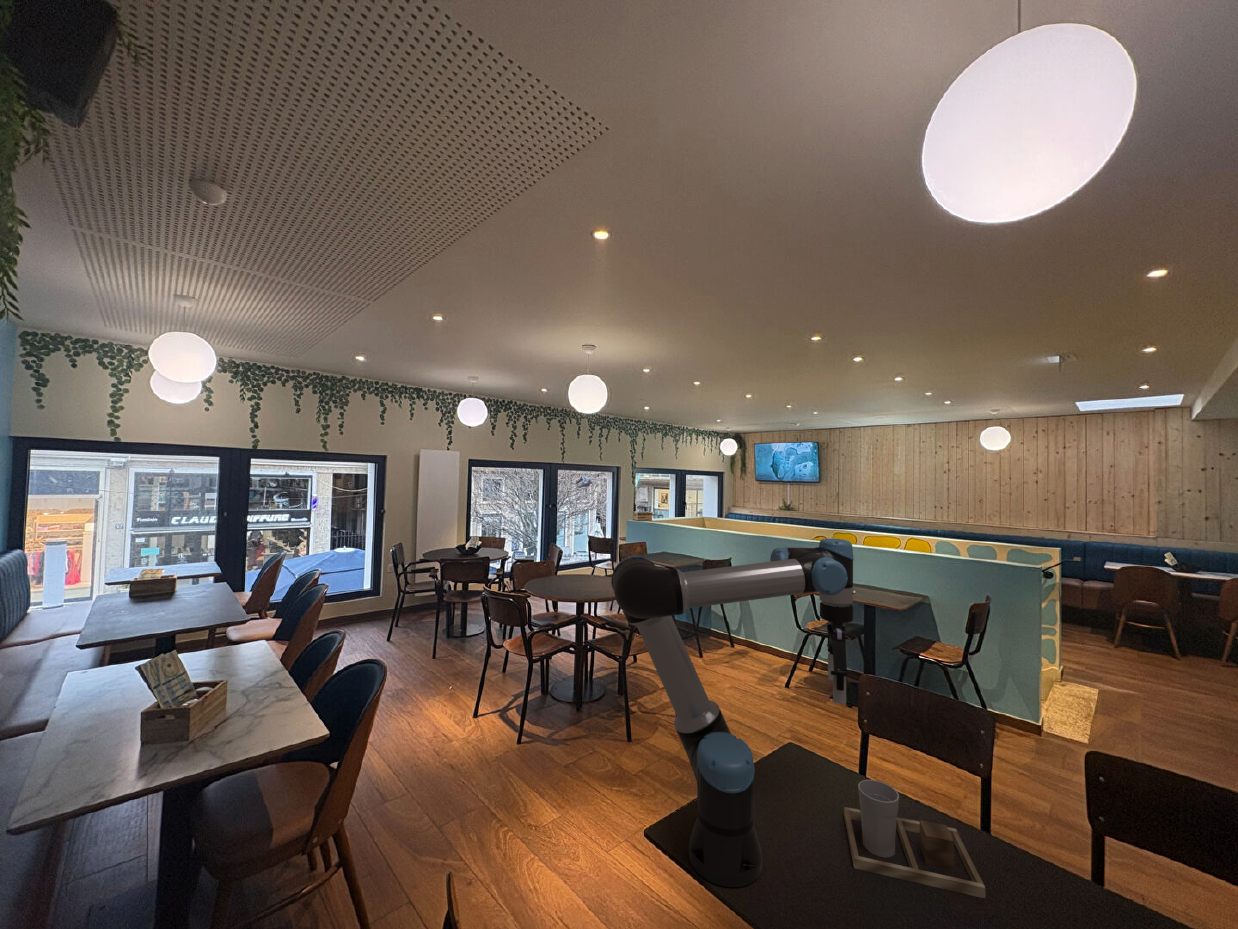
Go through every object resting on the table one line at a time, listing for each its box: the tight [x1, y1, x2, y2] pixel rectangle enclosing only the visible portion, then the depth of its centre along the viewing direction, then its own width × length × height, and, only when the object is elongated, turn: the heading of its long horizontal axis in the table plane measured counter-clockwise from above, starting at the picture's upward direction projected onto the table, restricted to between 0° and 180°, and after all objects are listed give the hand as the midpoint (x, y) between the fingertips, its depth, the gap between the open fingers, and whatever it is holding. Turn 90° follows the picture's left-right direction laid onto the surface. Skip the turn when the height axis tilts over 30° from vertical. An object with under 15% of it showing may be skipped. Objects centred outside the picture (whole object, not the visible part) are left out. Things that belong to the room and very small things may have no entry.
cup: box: [857, 779, 900, 858], centre depth 109 cm, size 8×8×12 cm
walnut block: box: [919, 819, 955, 872], centre depth 105 cm, size 5×5×6 cm
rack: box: [843, 806, 986, 899], centre depth 107 cm, size 23×17×2 cm
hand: (836, 691), depth 121 cm, fingers open, 13 cm apart
